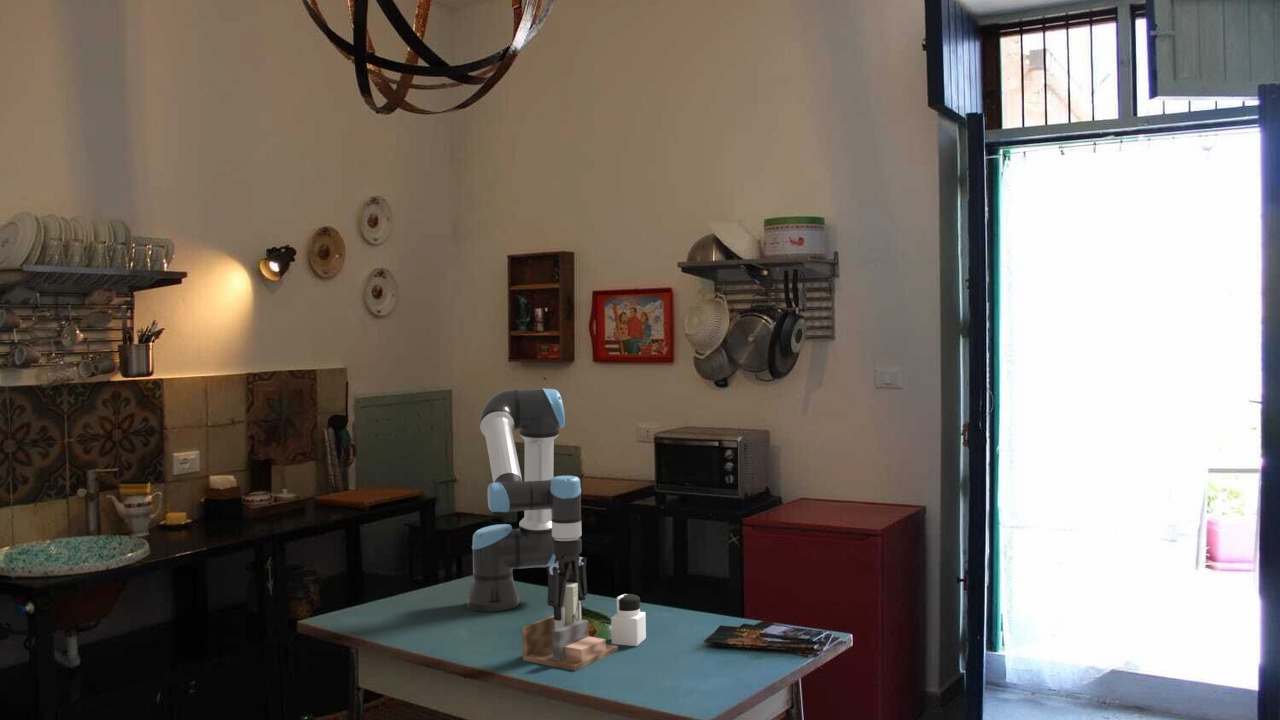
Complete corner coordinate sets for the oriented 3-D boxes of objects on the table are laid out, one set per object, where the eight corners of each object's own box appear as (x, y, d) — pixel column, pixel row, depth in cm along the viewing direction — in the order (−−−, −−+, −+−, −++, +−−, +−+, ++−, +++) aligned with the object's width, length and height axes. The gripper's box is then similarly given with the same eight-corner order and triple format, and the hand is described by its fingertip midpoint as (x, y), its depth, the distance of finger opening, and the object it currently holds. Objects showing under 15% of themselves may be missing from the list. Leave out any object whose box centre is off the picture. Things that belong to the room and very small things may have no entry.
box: (574, 638, 256) (573, 587, 255) (557, 637, 257) (556, 586, 256) (580, 632, 261) (578, 581, 261) (563, 631, 262) (562, 581, 261)
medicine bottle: (646, 638, 268) (645, 593, 268) (637, 646, 261) (636, 600, 261) (620, 636, 270) (620, 591, 270) (611, 644, 264) (610, 598, 263)
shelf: (567, 641, 267) (566, 610, 266) (617, 650, 258) (617, 618, 258) (522, 660, 252) (522, 627, 251) (575, 670, 243) (574, 636, 243)
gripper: (577, 530, 268) (578, 618, 269) (530, 543, 252) (532, 636, 253) (600, 532, 264) (602, 622, 265) (555, 545, 248) (556, 640, 249)
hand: (568, 629), depth 259 cm, fingers closed on box, 6 cm apart
